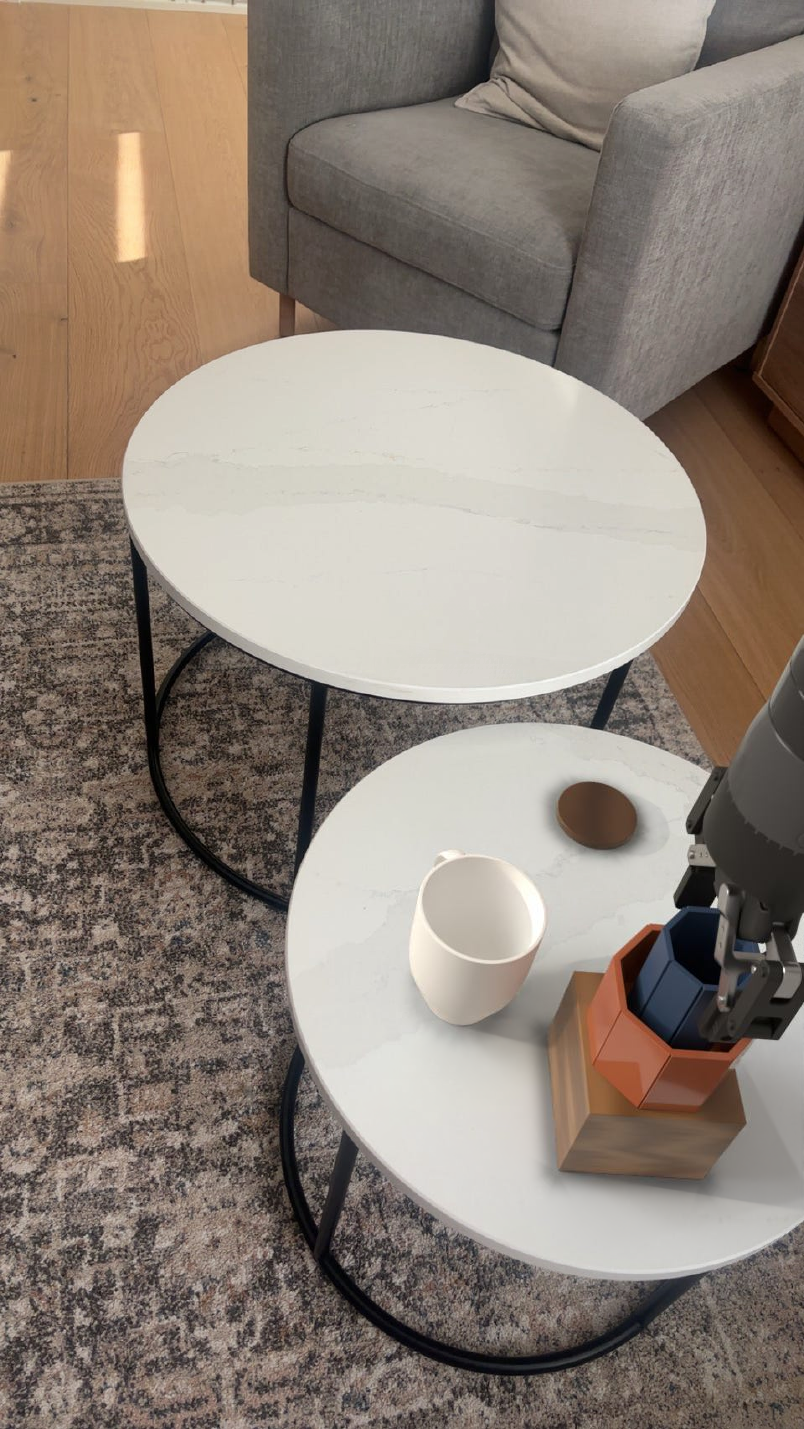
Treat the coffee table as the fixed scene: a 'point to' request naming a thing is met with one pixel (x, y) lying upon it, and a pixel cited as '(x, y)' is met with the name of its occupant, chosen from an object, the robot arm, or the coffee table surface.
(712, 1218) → the coffee table surface
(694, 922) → the slate cup
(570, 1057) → the riser
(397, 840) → the coffee table surface
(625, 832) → the coaster
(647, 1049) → the terracotta cup
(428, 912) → the mug
